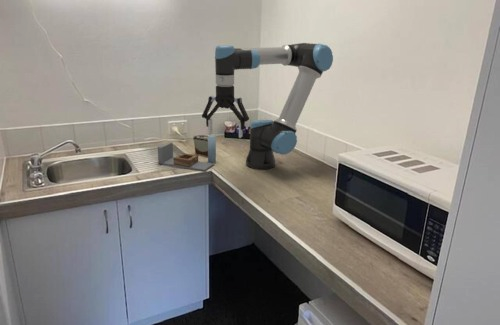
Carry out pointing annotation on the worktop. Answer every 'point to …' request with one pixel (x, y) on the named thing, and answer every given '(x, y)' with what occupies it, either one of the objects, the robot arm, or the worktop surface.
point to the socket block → (185, 159)
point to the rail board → (167, 159)
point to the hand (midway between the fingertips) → (225, 135)
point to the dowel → (211, 149)
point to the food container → (201, 145)
